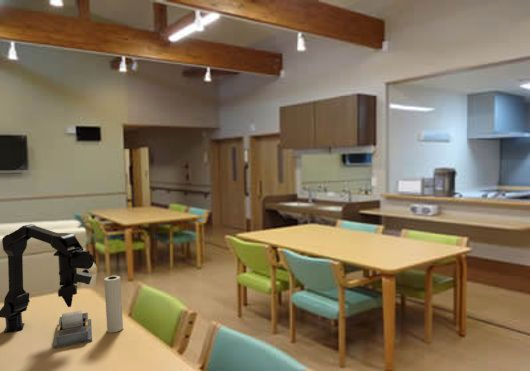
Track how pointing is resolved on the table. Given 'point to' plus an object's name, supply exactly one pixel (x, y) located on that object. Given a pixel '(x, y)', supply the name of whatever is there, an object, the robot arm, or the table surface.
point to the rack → (73, 333)
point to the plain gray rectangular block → (72, 320)
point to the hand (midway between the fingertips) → (69, 306)
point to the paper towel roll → (113, 303)
